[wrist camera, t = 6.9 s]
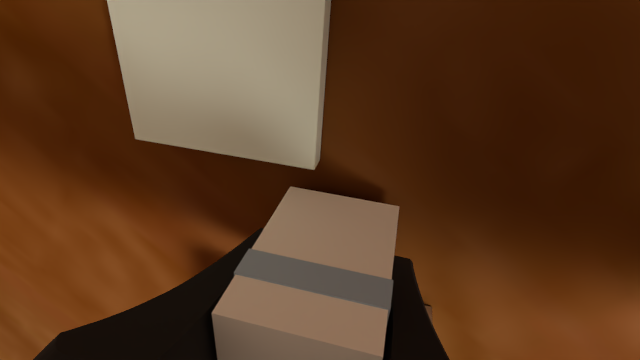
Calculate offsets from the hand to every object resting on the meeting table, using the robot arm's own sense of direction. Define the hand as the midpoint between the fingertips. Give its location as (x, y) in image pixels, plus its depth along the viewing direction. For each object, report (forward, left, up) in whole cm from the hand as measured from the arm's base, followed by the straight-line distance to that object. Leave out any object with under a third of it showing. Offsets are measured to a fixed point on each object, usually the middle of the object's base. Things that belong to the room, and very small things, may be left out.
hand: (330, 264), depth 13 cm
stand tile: (+5, -6, -2) cm, 8 cm away
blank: (0, 0, -1) cm, 1 cm away
